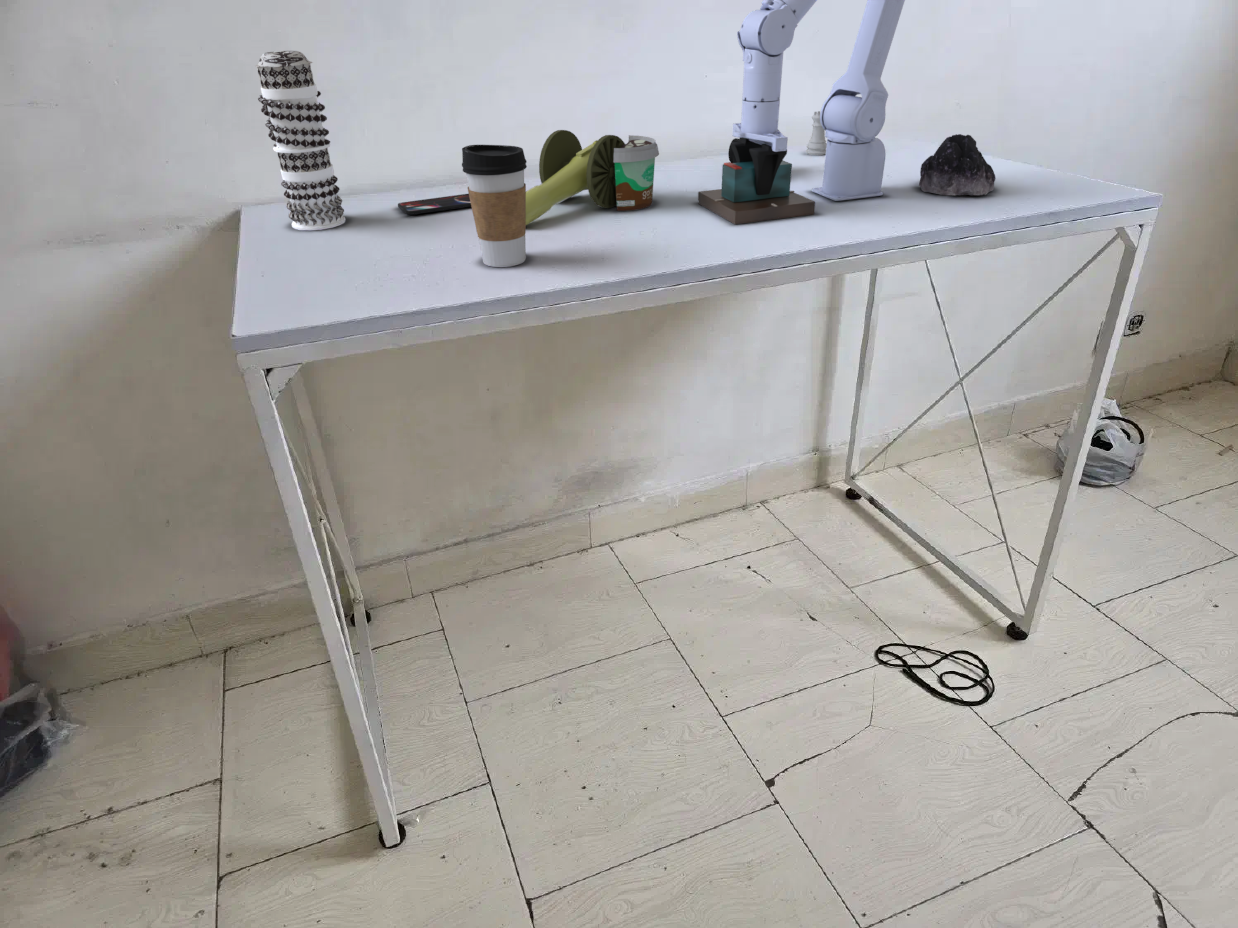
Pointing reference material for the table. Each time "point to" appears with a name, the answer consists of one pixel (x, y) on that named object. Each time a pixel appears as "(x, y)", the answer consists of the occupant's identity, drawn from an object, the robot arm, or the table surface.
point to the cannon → (573, 172)
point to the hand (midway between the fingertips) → (755, 190)
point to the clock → (756, 207)
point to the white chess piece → (817, 137)
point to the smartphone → (435, 204)
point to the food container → (635, 173)
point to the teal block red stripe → (752, 182)
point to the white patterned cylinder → (299, 140)
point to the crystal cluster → (957, 169)
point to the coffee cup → (498, 201)
